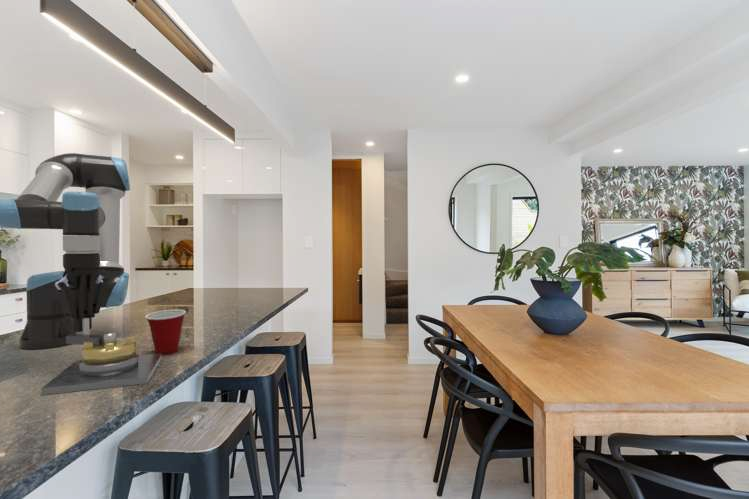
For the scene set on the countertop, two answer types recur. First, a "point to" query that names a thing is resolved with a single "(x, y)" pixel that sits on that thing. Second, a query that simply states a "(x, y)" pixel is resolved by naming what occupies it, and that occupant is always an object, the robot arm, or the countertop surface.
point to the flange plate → (102, 382)
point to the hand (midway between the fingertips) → (83, 343)
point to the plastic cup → (166, 329)
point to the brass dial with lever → (103, 347)
